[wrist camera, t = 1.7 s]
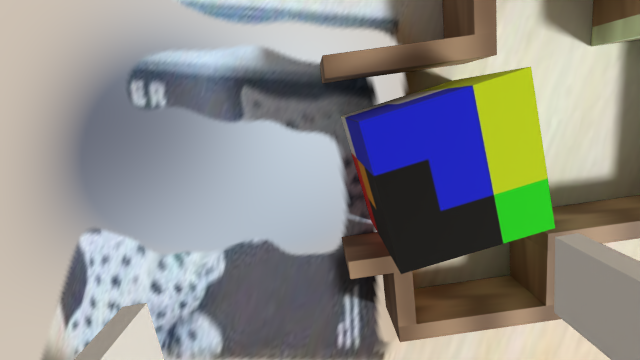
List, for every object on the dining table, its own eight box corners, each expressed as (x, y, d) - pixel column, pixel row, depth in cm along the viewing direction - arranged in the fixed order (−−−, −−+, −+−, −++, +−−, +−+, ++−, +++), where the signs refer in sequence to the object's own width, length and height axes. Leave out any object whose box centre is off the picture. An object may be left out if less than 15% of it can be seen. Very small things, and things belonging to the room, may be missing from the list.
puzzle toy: (340, 116, 28) (358, 121, 18) (452, 80, 28) (530, 66, 18) (370, 220, 30) (401, 274, 20) (474, 188, 30) (555, 228, 20)
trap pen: (351, 311, 32) (359, 347, 27) (308, -22, 25) (309, -53, 20) (662, 267, 32) (725, 295, 27) (702, -76, 26) (795, -118, 21)
